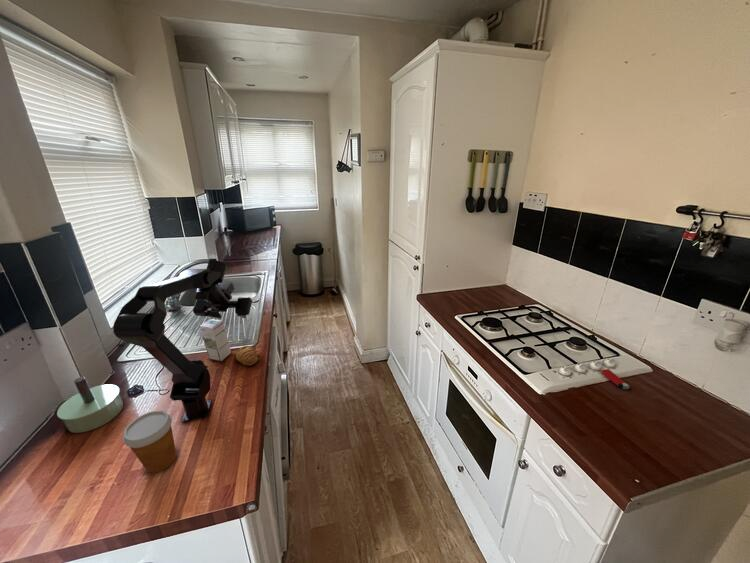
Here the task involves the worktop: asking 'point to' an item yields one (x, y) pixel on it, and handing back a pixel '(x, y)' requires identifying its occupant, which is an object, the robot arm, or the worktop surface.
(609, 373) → the lighter
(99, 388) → the lid
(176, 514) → the worktop surface
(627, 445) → the worktop surface
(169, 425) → the disposable coffee cup
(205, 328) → the syrup box
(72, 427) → the pot
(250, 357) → the pastry
